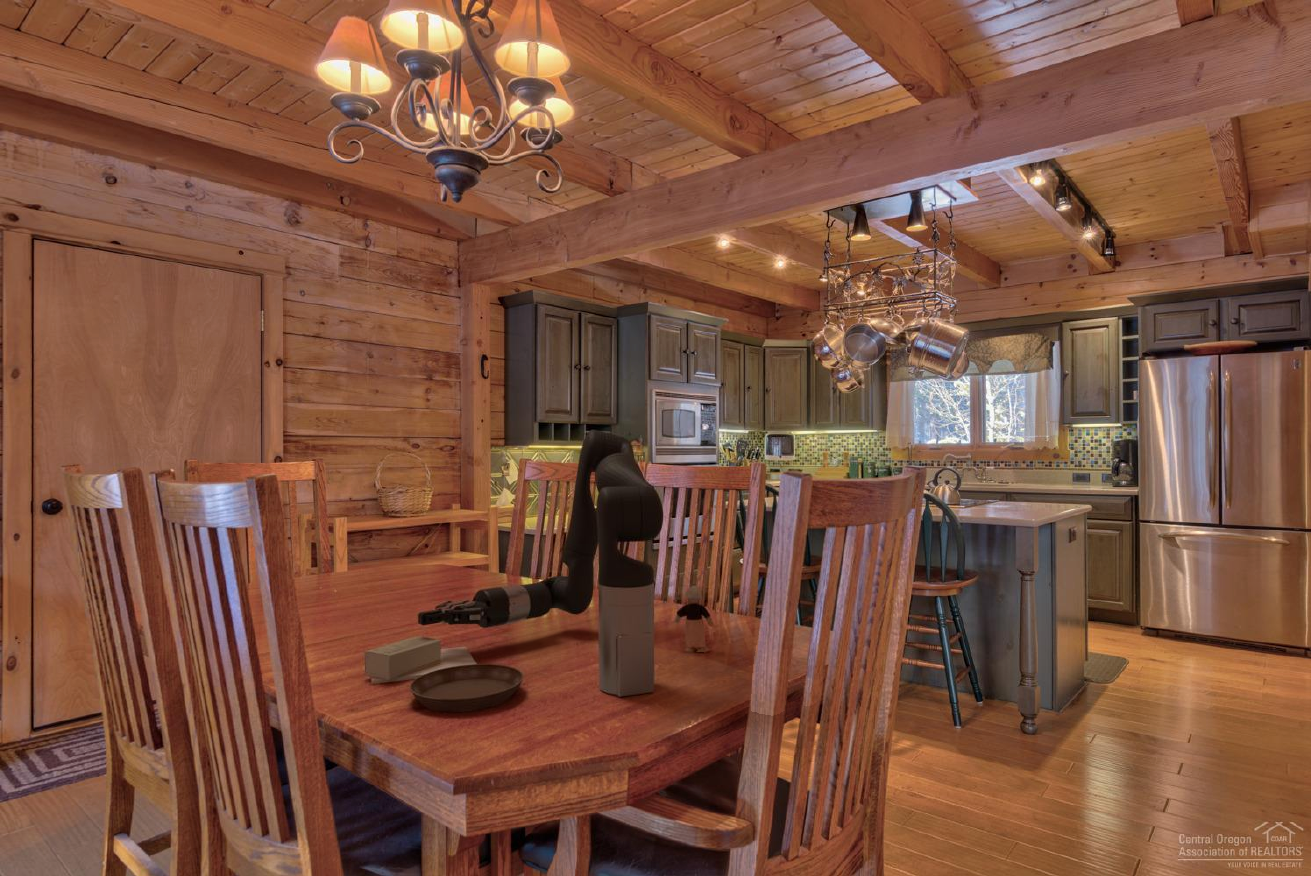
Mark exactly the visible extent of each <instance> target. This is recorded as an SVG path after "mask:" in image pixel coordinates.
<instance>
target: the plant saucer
mask: <svg viewBox="0 0 1311 876" xmlns="http://www.w3.org/2000/svg"><path fill="white" fill-rule="evenodd" d="M523 680H524V674H523V672H522V671H521V670H519V669H518V668H515V667H512V666H508V665H502V664H494V663H493V664H492V663H476V664H472V665H461V666H454V667H448V668H444V669H440V670H436V671H433V672H430V673H427V674H424V675H422V676H420V677H418V678H416V679H413V681H411V683H410V684H409V690H410V692H411V694H412V695H413V697H415V699H416V700H417V701H418V702H419V703H420V704H421V705H422V706H424V707H425V708H427V709H430V710H433V711H438V712H451V713H453V712H455V713H458V712H459V711H463V712H470V711H469V710H474V711H478V709H480V710H484V709H488V708H492V707H495V706H497V705H500V704H503V703H504V702H506V701H508V700H509V699H510V698H511V697H512V696H513V695H514V694H515V692H516V691H517V690H518V689H519V687H520V686H521V684H522V683H523V682H522V681H523ZM456 711H457V712H456ZM459 713H460V712H459Z"/></svg>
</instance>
